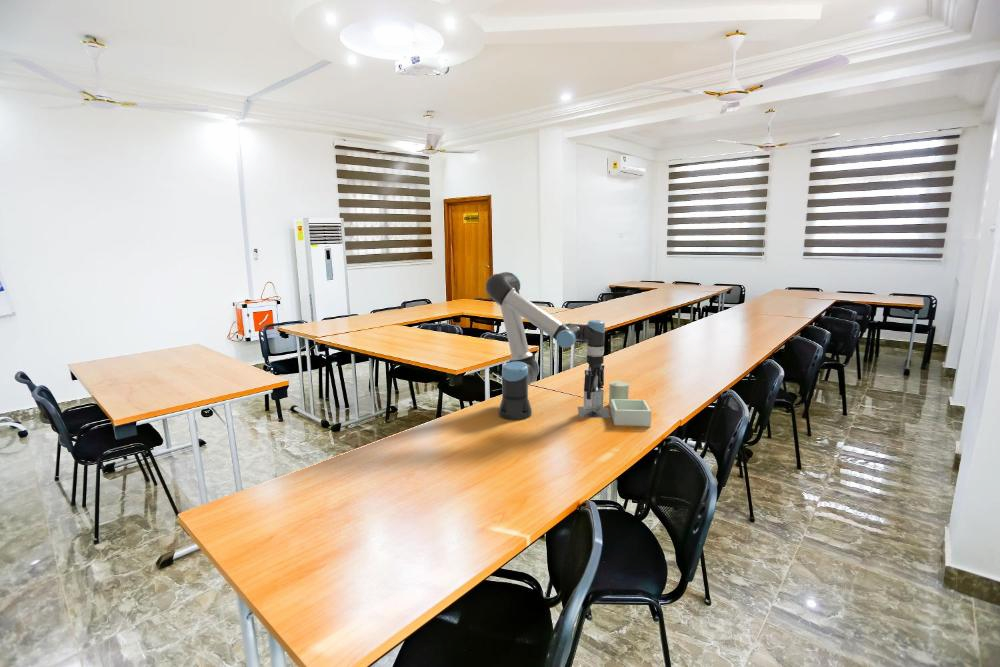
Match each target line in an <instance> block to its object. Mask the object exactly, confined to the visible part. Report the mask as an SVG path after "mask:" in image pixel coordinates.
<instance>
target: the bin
mask: <svg viewBox="0 0 1000 667" xmlns="http://www.w3.org/2000/svg"><path fill="white" fill-rule="evenodd" d="M610 416H611V419H612V421H613V424H614V425H615V426H633V427H634V426H635V427H645V428H648V427H649V428H651V426H652V425H651V424H652V409H651V408H650V407H649V405H648V403H647V401H646V400H645V399H629V398H628V399H611V407H610Z"/></svg>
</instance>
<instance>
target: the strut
mask: <svg viewBox="0 0 1000 667" xmlns="http://www.w3.org/2000/svg"><path fill="white" fill-rule="evenodd" d="M591 376H593V375H591ZM604 391H605V390H604V389H602V388H601V389H598V375H596V378H595V379H594V384H593V389H592V392H593V404H592V406H588V405H586V402H587V392H585V391H584V390H583V407H584V409H585V410H589V411H593V412H597V411H599V410H601V409H603V407H604Z"/></svg>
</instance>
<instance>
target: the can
mask: <svg viewBox="0 0 1000 667" xmlns="http://www.w3.org/2000/svg"><path fill="white" fill-rule="evenodd" d="M608 390H609V393H608V394H609V395H608V408H609V407H610V408H611V399H629V396H630V395H629V392H630V383H629V382H627V381H623V380H613V381H609V389H608Z"/></svg>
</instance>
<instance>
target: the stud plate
mask: <svg viewBox="0 0 1000 667" xmlns="http://www.w3.org/2000/svg"><path fill="white" fill-rule="evenodd" d="M577 411H578V417H579V418H590V419H591V418H598V419H599V418H600V419H601V418H602V419H612V416H611V412H610V410H609V406H608V407H606V406H603V409H601V410H599V411H597V412H593V411H589V410H585V409H584V406H577Z"/></svg>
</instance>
